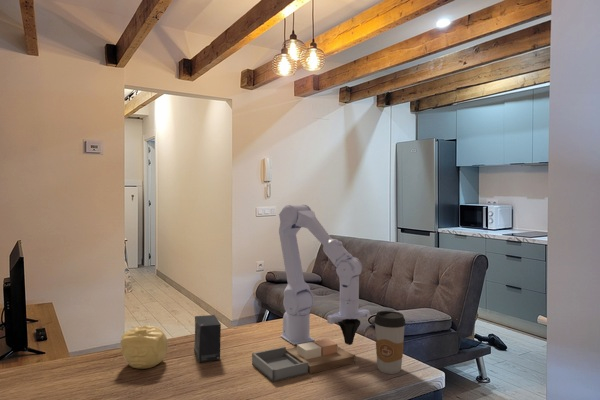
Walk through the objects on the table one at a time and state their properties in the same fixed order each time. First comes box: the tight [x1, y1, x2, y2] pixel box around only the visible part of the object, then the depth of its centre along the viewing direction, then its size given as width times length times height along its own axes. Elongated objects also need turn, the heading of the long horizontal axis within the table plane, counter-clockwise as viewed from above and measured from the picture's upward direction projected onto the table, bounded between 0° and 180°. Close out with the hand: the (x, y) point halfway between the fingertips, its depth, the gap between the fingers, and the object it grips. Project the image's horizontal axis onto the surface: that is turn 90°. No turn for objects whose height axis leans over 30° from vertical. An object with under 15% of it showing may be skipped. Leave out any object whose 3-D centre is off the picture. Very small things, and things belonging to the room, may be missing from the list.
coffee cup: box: [374, 310, 406, 375], centre depth 113 cm, size 8×8×15 cm
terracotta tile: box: [312, 338, 338, 356], centre depth 120 cm, size 5×5×2 cm
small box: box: [193, 314, 222, 363], centre depth 121 cm, size 11×6×10 cm, turn 22°
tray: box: [251, 346, 309, 383], centre depth 112 cm, size 13×10×3 cm
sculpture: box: [120, 325, 168, 370], centre depth 115 cm, size 11×12×11 cm
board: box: [286, 345, 356, 375], centre depth 119 cm, size 14×15×2 cm
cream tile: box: [296, 341, 321, 359], centre depth 117 cm, size 5×5×2 cm
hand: (348, 343), depth 124 cm, fingers closed
